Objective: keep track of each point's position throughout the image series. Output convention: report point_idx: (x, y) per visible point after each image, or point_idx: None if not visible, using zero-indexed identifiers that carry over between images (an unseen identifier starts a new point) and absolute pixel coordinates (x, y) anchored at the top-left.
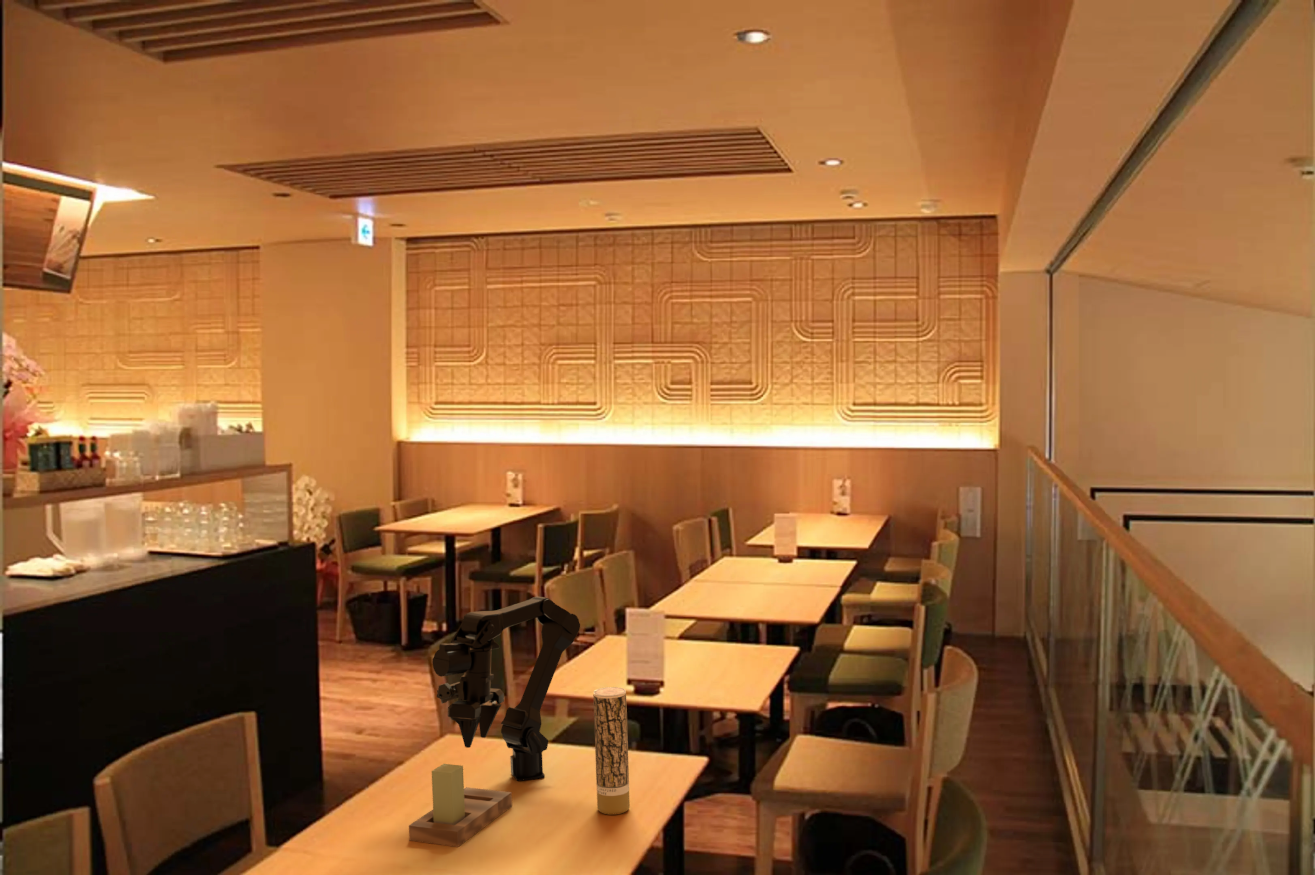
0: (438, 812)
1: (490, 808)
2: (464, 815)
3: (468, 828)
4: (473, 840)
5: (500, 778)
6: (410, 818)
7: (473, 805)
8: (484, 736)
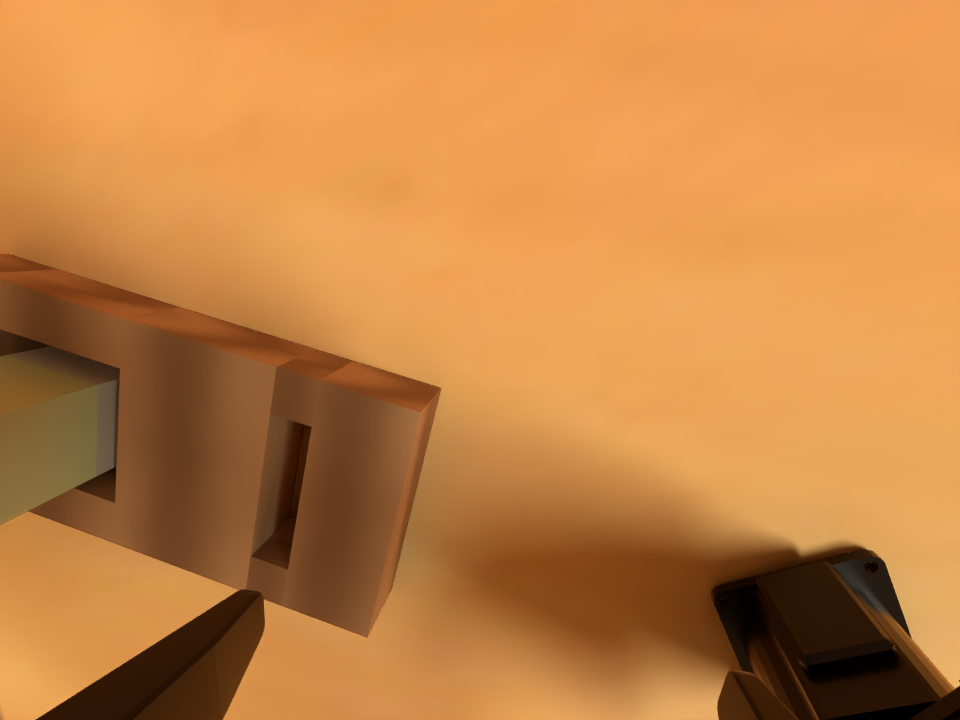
0: None
1: (187, 566)
2: (96, 474)
3: None
4: None
5: (784, 496)
6: (207, 166)
7: (192, 495)
8: (722, 715)
